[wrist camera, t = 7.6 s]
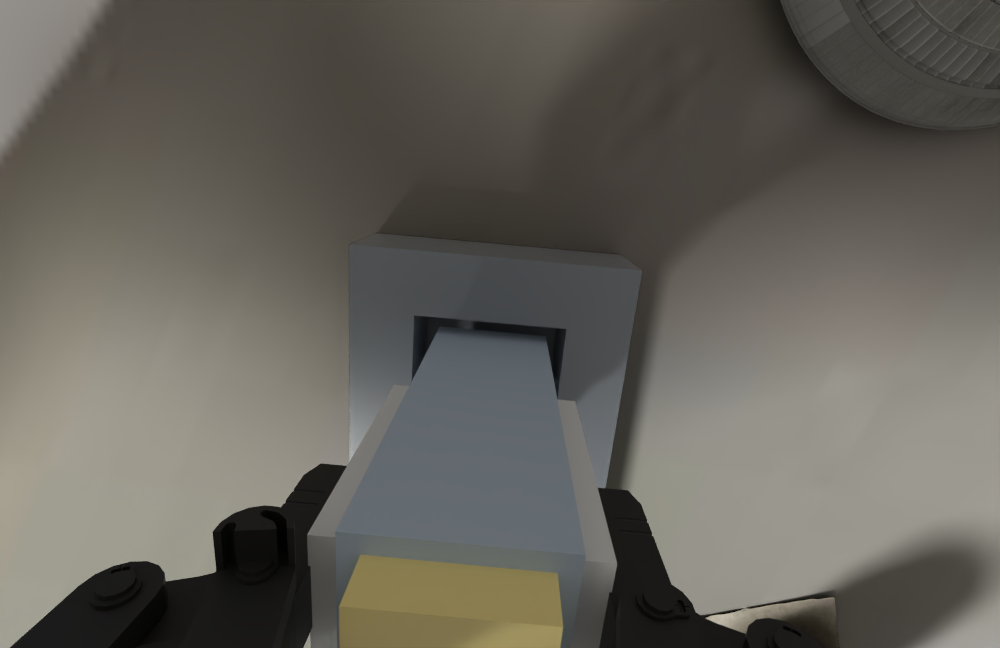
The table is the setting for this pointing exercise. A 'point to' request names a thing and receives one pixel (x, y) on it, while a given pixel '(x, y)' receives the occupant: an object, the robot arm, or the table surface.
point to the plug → (465, 508)
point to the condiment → (791, 618)
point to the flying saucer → (908, 57)
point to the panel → (491, 319)
